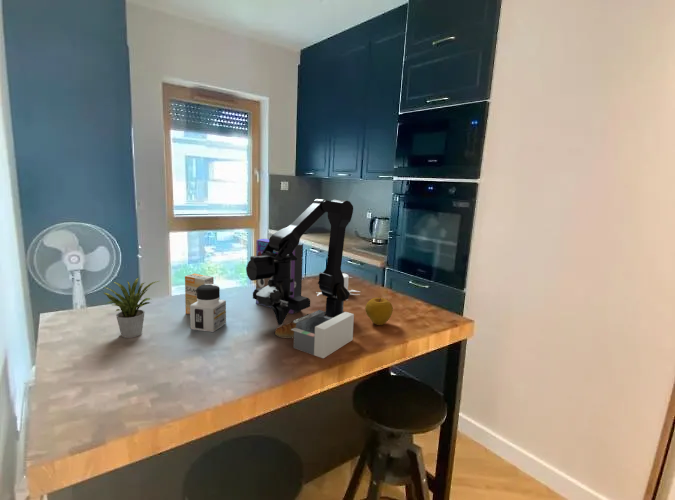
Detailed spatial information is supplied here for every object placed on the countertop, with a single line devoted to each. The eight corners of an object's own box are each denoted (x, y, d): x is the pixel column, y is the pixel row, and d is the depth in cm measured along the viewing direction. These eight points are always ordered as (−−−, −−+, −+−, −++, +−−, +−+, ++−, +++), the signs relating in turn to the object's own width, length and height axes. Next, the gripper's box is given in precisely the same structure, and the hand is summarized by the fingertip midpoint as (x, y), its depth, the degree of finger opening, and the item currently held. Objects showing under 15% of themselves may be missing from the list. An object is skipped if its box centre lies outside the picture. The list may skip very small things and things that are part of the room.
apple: (358, 323, 123) (360, 297, 122) (375, 316, 130) (377, 292, 128) (381, 331, 117) (382, 304, 116) (397, 324, 124) (399, 298, 122)
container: (213, 332, 111) (213, 290, 108) (190, 329, 112) (189, 287, 110) (226, 323, 118) (226, 283, 116) (204, 320, 120) (203, 281, 117)
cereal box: (255, 303, 138) (256, 239, 134) (265, 300, 142) (265, 238, 138) (292, 314, 129) (293, 245, 124) (300, 310, 133) (302, 244, 128)
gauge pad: (318, 331, 114) (319, 307, 113) (323, 333, 113) (324, 309, 112) (291, 345, 103) (291, 319, 102) (296, 347, 102) (297, 321, 101)
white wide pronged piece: (370, 294, 157) (371, 275, 156) (340, 304, 143) (341, 284, 141) (334, 284, 170) (335, 267, 169) (304, 292, 155) (304, 273, 154)
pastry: (277, 341, 107) (277, 328, 107) (272, 332, 113) (272, 320, 113) (309, 337, 111) (309, 325, 110) (302, 329, 117) (302, 317, 116)
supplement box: (184, 314, 124) (183, 275, 122) (195, 309, 129) (194, 272, 126) (204, 318, 121) (203, 279, 119) (214, 313, 126) (214, 276, 123)
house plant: (153, 319, 118) (151, 269, 115) (170, 333, 108) (168, 279, 105) (101, 330, 108) (97, 276, 105) (114, 347, 98) (110, 287, 96)
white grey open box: (322, 330, 116) (323, 305, 114) (352, 339, 110) (354, 314, 109) (290, 347, 103) (291, 319, 102) (323, 358, 98) (324, 329, 96)
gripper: (239, 275, 111) (239, 325, 113) (287, 287, 101) (285, 341, 103) (265, 268, 120) (265, 315, 123) (312, 279, 110) (310, 329, 113)
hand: (280, 324), depth 115 cm, fingers closed
